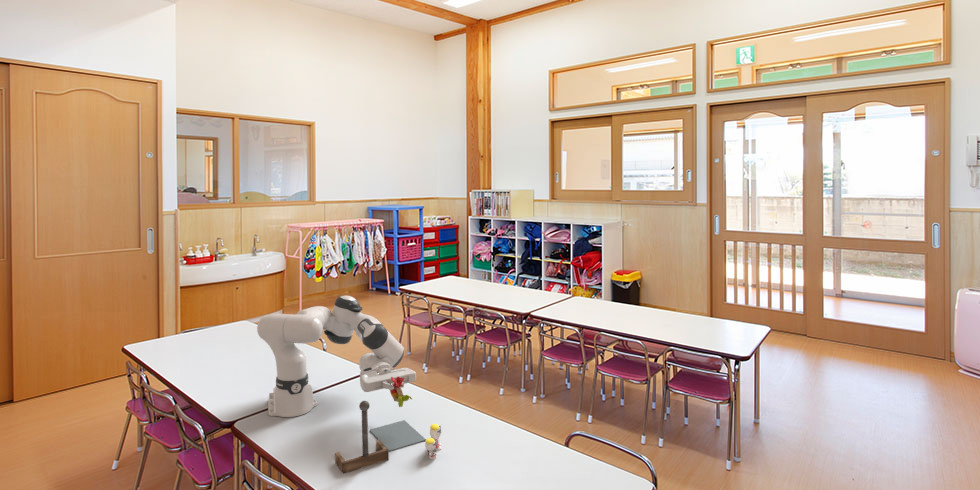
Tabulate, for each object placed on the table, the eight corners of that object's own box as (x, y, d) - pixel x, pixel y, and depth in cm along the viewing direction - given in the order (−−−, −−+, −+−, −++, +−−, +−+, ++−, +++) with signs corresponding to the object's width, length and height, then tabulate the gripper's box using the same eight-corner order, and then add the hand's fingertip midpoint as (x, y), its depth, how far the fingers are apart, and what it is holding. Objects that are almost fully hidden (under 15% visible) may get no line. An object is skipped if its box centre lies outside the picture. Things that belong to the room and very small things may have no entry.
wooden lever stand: (335, 462, 175) (333, 398, 172) (379, 449, 183) (378, 388, 180) (344, 475, 168) (342, 408, 165) (389, 461, 176) (388, 397, 173)
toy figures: (436, 460, 177) (436, 437, 176) (423, 459, 177) (423, 436, 176) (444, 443, 189) (444, 420, 188) (432, 442, 189) (432, 419, 188)
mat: (369, 430, 197) (369, 429, 197) (404, 421, 205) (404, 420, 205) (389, 451, 182) (389, 450, 182) (425, 440, 190) (425, 439, 190)
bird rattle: (391, 410, 193) (403, 409, 186) (376, 384, 192) (388, 381, 185) (404, 400, 197) (416, 398, 190) (389, 374, 196) (401, 371, 190)
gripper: (407, 376, 208) (423, 389, 196) (356, 388, 196) (370, 401, 185) (407, 361, 207) (423, 372, 195) (356, 371, 195) (370, 384, 184)
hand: (397, 386), depth 190 cm, fingers closed on bird rattle, 2 cm apart
